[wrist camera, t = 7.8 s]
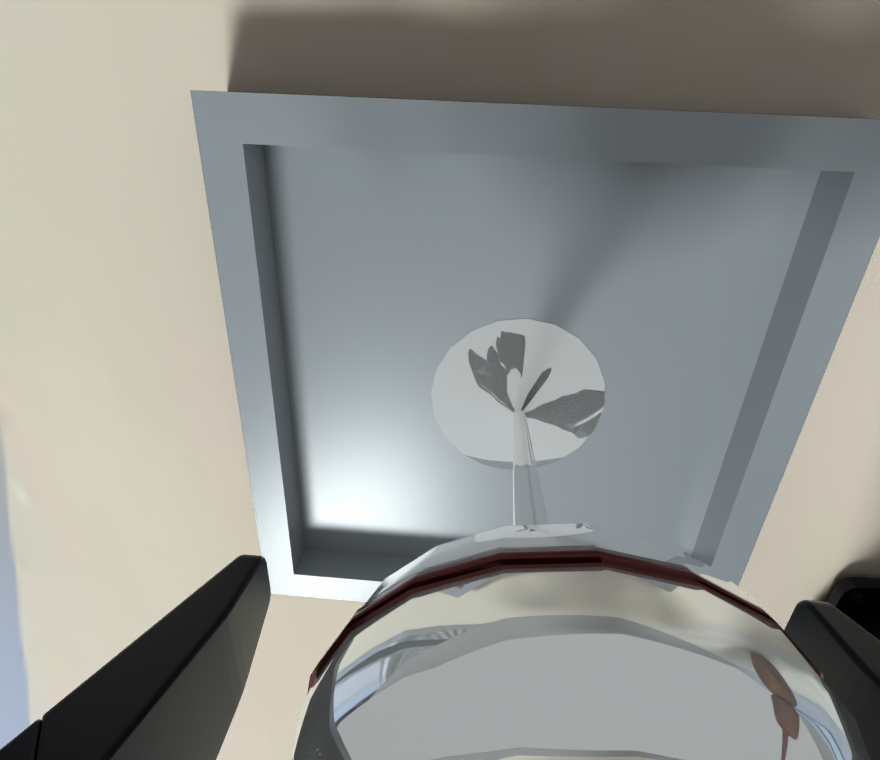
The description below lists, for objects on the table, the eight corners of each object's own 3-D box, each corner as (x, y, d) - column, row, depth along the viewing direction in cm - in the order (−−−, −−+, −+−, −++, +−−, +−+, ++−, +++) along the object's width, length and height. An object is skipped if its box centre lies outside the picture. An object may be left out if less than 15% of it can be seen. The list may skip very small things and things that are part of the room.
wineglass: (569, 520, 17) (706, 1177, 7) (371, 450, 17) (172, 1058, 6) (686, 341, 14) (1275, 1019, 4) (449, 246, 14) (330, 743, 3)
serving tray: (868, 119, 12) (926, 120, 11) (699, 588, 19) (719, 631, 18) (226, 92, 13) (190, 90, 11) (284, 553, 20) (267, 593, 18)
